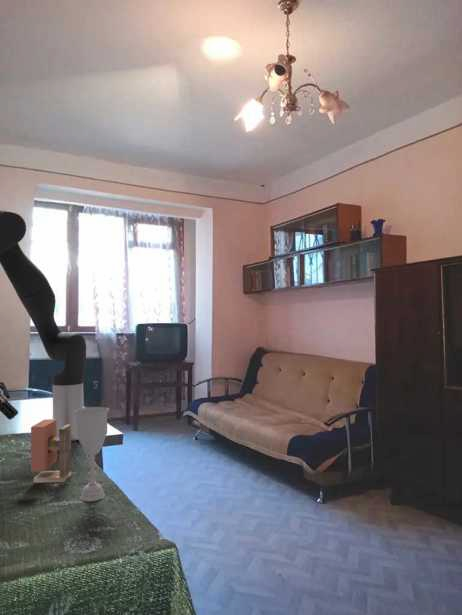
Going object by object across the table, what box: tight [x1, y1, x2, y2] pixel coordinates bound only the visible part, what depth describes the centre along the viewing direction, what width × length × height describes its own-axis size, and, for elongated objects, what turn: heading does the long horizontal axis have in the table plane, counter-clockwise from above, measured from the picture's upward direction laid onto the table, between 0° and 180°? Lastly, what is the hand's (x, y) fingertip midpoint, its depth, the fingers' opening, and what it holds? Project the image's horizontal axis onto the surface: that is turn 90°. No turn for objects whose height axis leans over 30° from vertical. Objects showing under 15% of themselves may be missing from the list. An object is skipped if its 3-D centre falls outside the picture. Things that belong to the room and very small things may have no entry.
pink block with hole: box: [30, 418, 58, 473], centre depth 108 cm, size 8×3×10 cm, turn 2°
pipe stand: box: [32, 424, 72, 484], centre depth 108 cm, size 5×7×12 cm
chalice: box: [74, 406, 110, 502], centre depth 97 cm, size 7×7×18 cm
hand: (14, 416), depth 108 cm, fingers closed
